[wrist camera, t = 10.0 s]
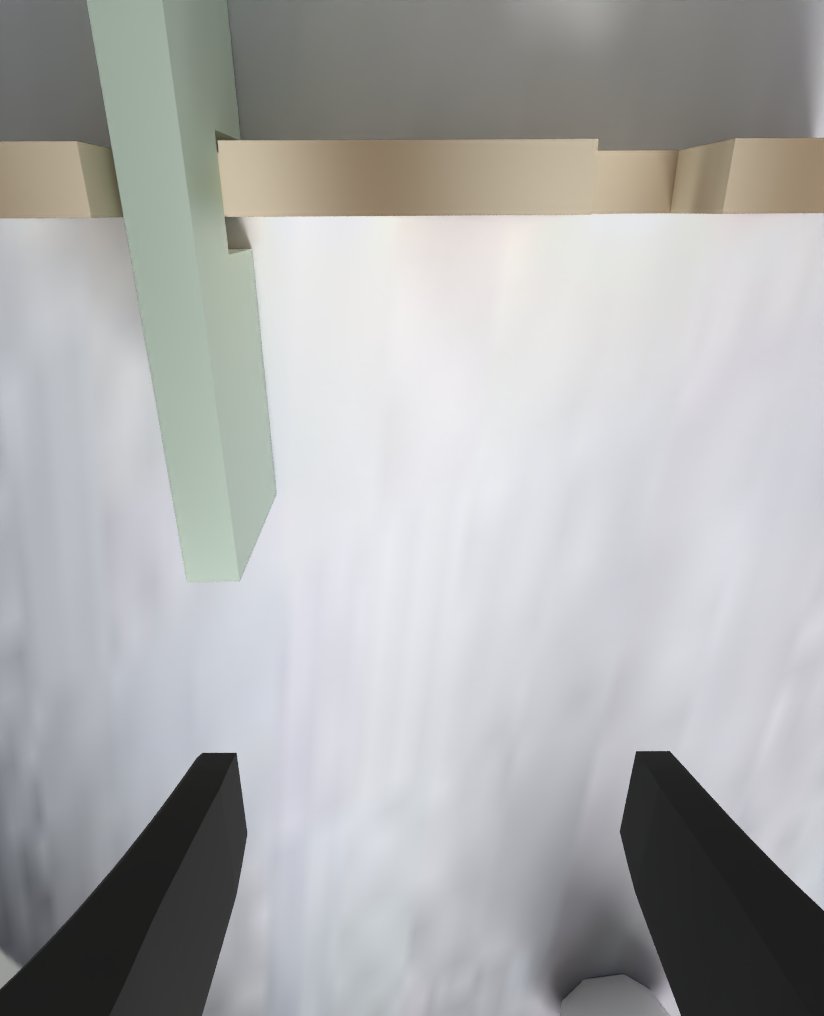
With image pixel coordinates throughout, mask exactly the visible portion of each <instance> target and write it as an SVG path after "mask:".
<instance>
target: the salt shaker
mask: <svg viewBox="0 0 824 1016" xmlns="http://www.w3.org/2000/svg"><path fill="white" fill-rule="evenodd" d="M560 1016H670V1015H669V1013H668V1012H667V1011H666V1010H665V1008H664V1007H663V1006H662V1004H661V1003H660V1002H659V1000H658V999H657V998H656V996H655V995H654V994H653V993H652V991H651V990H650V989H649V988H647V987H645V986H644V985H642V984H640V983H638V982H637V981H635V980H633V979H632V978H630V977H628V976H626V975H625V974H621V975H613V976H606V977H598V978H591V979H584V980H583V981H582V982H581V983H580V984H579V985H578V986H577V987H576V988H575V989H574V990H573V991H572V992H571V993H570V994H568V995H567V996H566V997H565V998H564V999H563V1000H562V1003H561V1010H560Z"/></svg>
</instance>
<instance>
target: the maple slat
mask: <svg viewBox="0 0 824 1016" xmlns="http://www.w3.org/2000/svg"><path fill="white" fill-rule="evenodd" d="M217 142H218V151H219V152H217V155H218V164H219V173H220V182H221V190H222V199H223V208H224V216H226V217H278V216H433V215H589V214H612V213H708V214H745V213H824V138H734V139H730V140H725V141H720V142H716V143H711V144H706V145H701V146H697V147H692V148H687V149H683V150H624V151H598V142H599V139H448V140H219V141H217ZM100 217H124V216H123V210H122V204H121V198H120V193H119V187H118V181H117V175H116V169H115V164H114V158H113V152H112V149H111V148H106V147H101V146H97V145H92V144H88V143H83V142H78V141H0V218H100Z"/></svg>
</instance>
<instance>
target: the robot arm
mask: <svg viewBox="0 0 824 1016" xmlns="http://www.w3.org/2000/svg"><path fill="white" fill-rule="evenodd" d="M620 834H621V838H622V842H623V846H624V850H625V855H626V859H627V863H628V867H629V871H630V874H631V878H632V882H633V886H634V889H635V893H636V896H637V898H638V901H639V904H640V907H641V909H642V912H643V915H644V918H645V920H646V923H647V926H648V928H649V931H650V934H651V937H652V939H653V942H654V945H655V947H656V950H657V953H658V955H659V958H660V961H661V963H662V966H663V969H664V971H665V974H666V977H667V979H668V982H669V985H670V987H671V990H672V993H673V995H674V998H675V1001H676V1003H677V1006H678V1008H679V1011H680V1014H681V1016H824V911H823V910H822V909H821V908H820V907H819V906H818V905H817V904H816V903H815V902H814V901H813V900H812V899H811V898H810V897H809V896H808V895H807V894H805V893H804V892H803V891H802V890H801V889H800V888H799V887H798V886H797V885H796V884H795V883H794V882H793V881H792V880H791V879H790V878H789V877H788V876H787V875H786V874H785V873H784V872H783V871H782V870H781V869H780V868H779V867H778V866H777V865H776V864H775V863H774V862H773V861H772V860H771V859H770V858H769V857H768V856H767V855H766V854H765V853H764V852H763V851H762V850H761V849H760V848H759V847H758V846H757V845H756V844H755V843H754V842H753V841H752V840H751V839H750V838H749V837H748V836H747V835H746V833H745V832H744V831H743V830H742V829H741V828H740V827H739V826H738V825H737V824H736V823H735V822H734V821H733V820H732V819H731V818H730V817H729V815H728V814H727V813H726V812H725V811H724V810H723V809H722V808H721V807H720V806H719V805H718V803H717V802H716V801H715V800H714V799H713V798H712V797H711V796H710V795H709V794H708V793H707V791H706V790H705V789H704V788H703V787H702V786H701V785H700V784H699V783H698V782H697V780H696V779H695V778H694V777H693V776H692V775H691V774H690V773H689V772H688V771H687V769H686V768H685V767H684V766H683V765H682V764H681V763H680V762H679V761H678V760H677V759H676V757H675V756H674V755H673V754H672V753H671V752H670V751H636V755H635V759H634V764H633V769H632V774H631V779H630V784H629V789H628V794H627V799H626V804H625V809H624V814H623V819H622V824H621V828H620ZM246 838H247V828H246V820H245V813H244V805H243V798H242V790H241V783H240V775H239V768H238V761H237V753H202V754H201V755H200V756H198V757H197V758H196V760H195V761H194V763H193V764H192V766H191V767H190V768H189V770H188V771H187V773H186V774H185V776H184V777H183V778H182V780H181V781H180V783H179V784H178V785H177V787H176V788H175V789H174V791H173V792H172V794H171V795H170V796H169V798H168V799H167V800H166V802H165V803H164V804H163V806H162V807H161V808H160V810H159V811H158V812H157V814H156V815H155V816H154V818H153V819H152V820H151V822H150V823H149V824H148V826H147V827H146V828H145V829H144V831H143V832H142V833H141V834H140V836H139V837H138V838H137V839H136V841H135V842H134V843H133V844H132V846H131V847H130V848H129V849H128V851H127V852H126V853H125V855H124V856H123V857H122V858H121V860H120V861H119V862H118V863H117V864H116V866H115V867H114V868H113V869H112V870H111V872H110V873H109V874H108V875H107V876H106V877H105V878H104V880H103V881H102V882H101V883H100V884H99V885H98V887H97V888H96V889H95V890H94V891H93V892H92V893H91V895H90V896H89V897H88V898H87V899H86V900H85V902H84V903H83V904H82V905H81V906H80V907H79V909H78V910H77V911H76V912H75V913H74V914H73V915H72V916H71V917H70V918H69V920H68V921H67V922H66V923H65V924H64V925H63V926H62V927H61V928H60V929H59V930H58V931H57V933H56V934H55V935H54V936H53V937H52V938H51V939H50V940H49V941H48V942H47V943H46V944H45V945H44V946H43V947H42V948H41V949H40V950H39V951H38V952H37V953H36V954H35V955H34V956H33V957H32V958H31V959H30V961H29V962H28V963H27V964H26V965H25V966H24V967H23V968H22V969H21V970H20V971H19V972H18V973H17V974H16V975H15V976H14V977H13V978H12V979H10V980H9V981H8V982H7V983H6V984H5V985H4V986H3V987H2V988H1V989H0V1016H202V1013H203V1010H204V1006H205V1003H206V999H207V996H208V993H209V989H210V986H211V982H212V979H213V975H214V972H215V968H216V965H217V961H218V958H219V955H220V951H221V948H222V944H223V941H224V937H225V934H226V930H227V927H228V923H229V919H230V916H231V912H232V909H233V905H234V902H235V898H236V894H237V889H238V884H239V878H240V873H241V868H242V862H243V856H244V850H245V844H246Z"/></svg>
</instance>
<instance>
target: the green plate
mask: <svg viewBox="0 0 824 1016" xmlns="http://www.w3.org/2000/svg"><path fill="white" fill-rule="evenodd" d="M86 1H87V7H88V13H89V19H90V25H91V30H92V36H93V42H94V48H95V54H96V59H97V65H98V71H99V77H100V83H101V88H102V94H103V100H104V106H105V112H106V117H107V123H108V129H109V135H110V141H111V146H112V152H113V158H114V164H115V169H116V175H117V181H118V187H119V193H120V198H121V204H122V210H123V216H124V222H125V227H126V233H127V239H128V245H129V251H130V256H131V262H132V268H133V274H134V280H135V285H136V291H137V297H138V303H139V309H140V314H141V320H142V326H143V332H144V338H145V343H146V349H147V355H148V361H149V367H150V372H151V378H152V384H153V390H154V396H155V401H156V407H157V413H158V419H159V425H160V430H161V436H162V442H163V448H164V454H165V459H166V465H167V471H168V477H169V482H170V488H171V494H172V500H173V506H174V511H175V517H176V523H177V529H178V535H179V540H180V546H181V552H182V558H183V564H184V569H185V575H186V581H187V582H237V581H240V580H241V577H242V575H243V573H244V570H245V568H246V565H247V563H248V561H249V558H250V556H251V554H252V551H253V549H254V546H255V544H256V542H257V539H258V537H259V535H260V532H261V530H262V527H263V525H264V523H265V520H266V518H267V516H268V513H269V511H270V509H271V506H272V504H273V501H274V499H275V497H276V486H275V476H274V466H273V456H272V446H271V436H270V426H269V416H268V406H267V396H266V386H265V376H264V366H263V356H262V346H261V336H260V326H259V316H258V306H257V296H256V286H255V276H254V266H253V256H252V249H228V243H227V234H226V225H225V217H224V208H223V199H222V190H221V182H220V173H219V164H218V155H217V147H216V141H219V140H241V136H240V126H239V116H238V106H237V96H236V86H235V76H234V66H233V56H232V46H231V36H230V26H229V16H228V6H227V0H86Z"/></svg>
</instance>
